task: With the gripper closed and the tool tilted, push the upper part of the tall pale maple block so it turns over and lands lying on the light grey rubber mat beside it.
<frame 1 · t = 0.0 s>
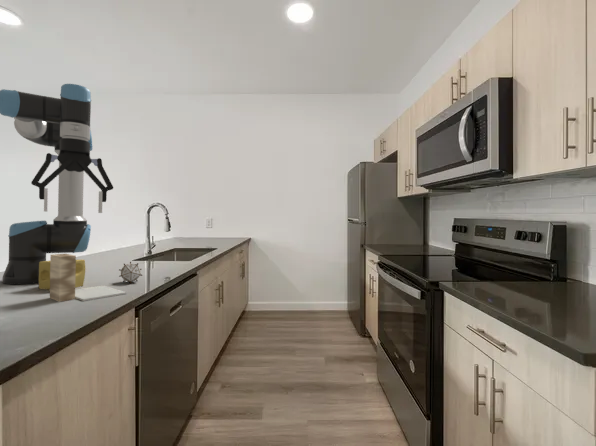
hand: (73, 212, 105), 28 cm above the worktop, tool pointing down, fingers open, 13 cm apart
maple block: (62, 298, 115), on the worktop
cheese: (61, 288, 131), on the worktop
rubber mat: (94, 293, 123), on the worktop
game die: (130, 282, 144), on the worktop
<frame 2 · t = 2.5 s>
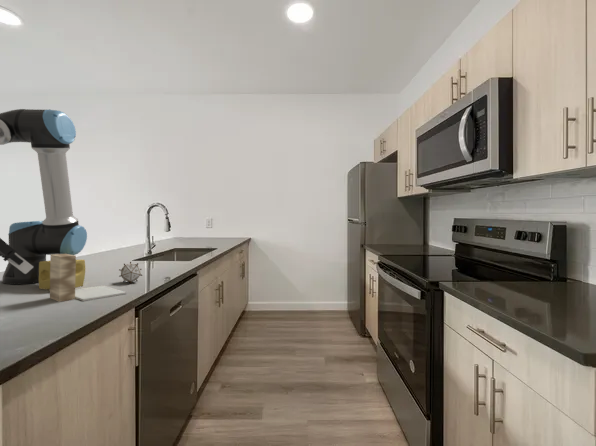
hand: (28, 270, 106), 10 cm above the worktop, tool tilted 45°, fingers closed
nothing on the worktop moved.
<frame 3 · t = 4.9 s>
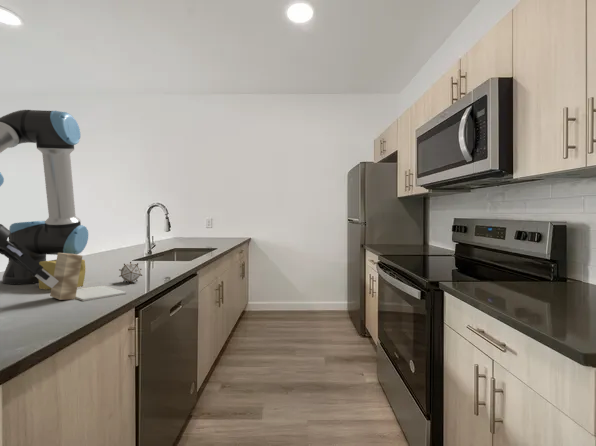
hand: (54, 284, 112), 5 cm above the worktop, tool tilted 45°, fingers closed
maple block: (62, 297, 115), on the worktop, tilted 8°
everything else where it was.
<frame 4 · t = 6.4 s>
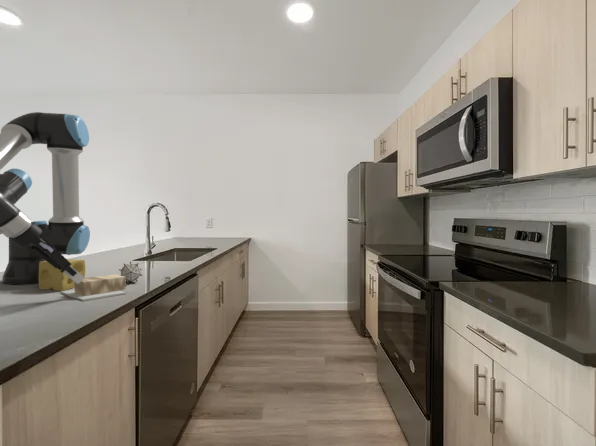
hand: (80, 280, 118), 5 cm above the worktop, tool tilted 45°, fingers closed
maple block: (79, 287, 119), point 3 cm above the worktop, tilted 90°, touching gripper
everything else where it was.
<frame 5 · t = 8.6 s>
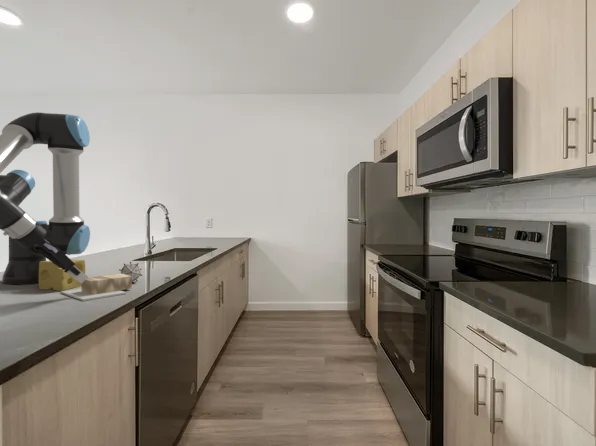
hand: (83, 279, 120), 5 cm above the worktop, tool tilted 45°, fingers closed
maple block: (86, 286, 121), point 3 cm above the worktop, tilted 90°, touching rubber mat
everything else where it was.
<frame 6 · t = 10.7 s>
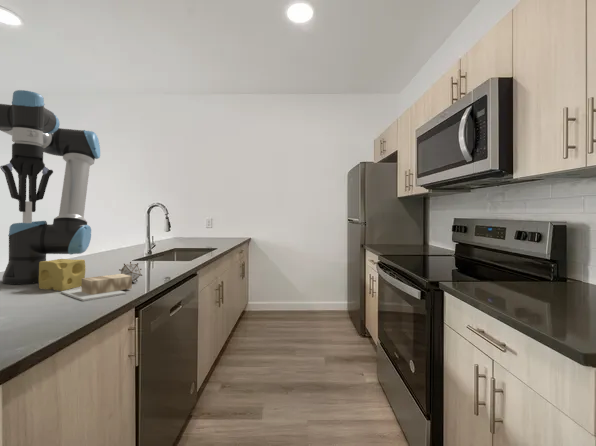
hand: (27, 222, 108), 24 cm above the worktop, tool pointing down, fingers closed
nothing on the worktop moved.
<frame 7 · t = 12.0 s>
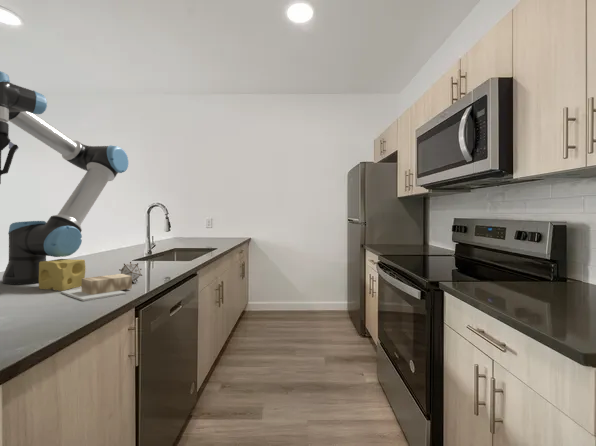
nothing on the worktop moved.
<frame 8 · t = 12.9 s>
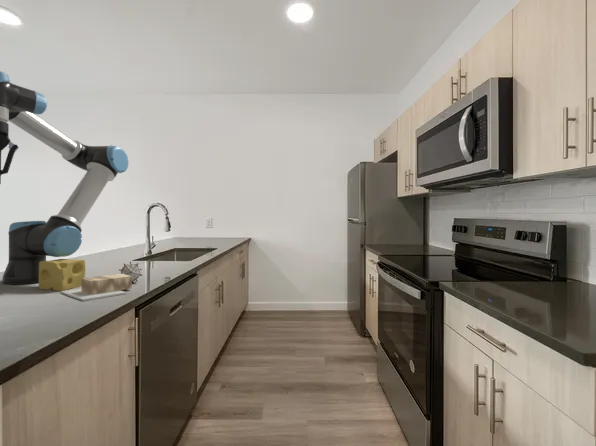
nothing on the worktop moved.
at the end: maple block tilted 90°; maple block 2.6 cm from the rubber mat (horizontally); the gripper is holding nothing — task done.
